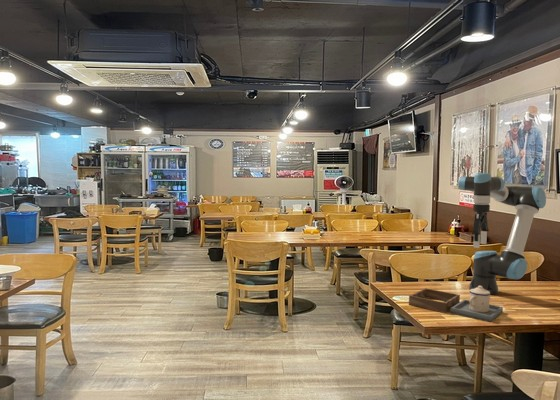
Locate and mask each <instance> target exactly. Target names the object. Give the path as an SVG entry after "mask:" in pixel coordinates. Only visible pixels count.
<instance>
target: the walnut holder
mask: <svg viewBox="0 0 560 400" xmlns="http://www.w3.org/2000/svg"><path fill="white" fill-rule="evenodd" d="M460 297H461V295H460V294H458V293H451V292H446V291H442V290H441V291H440V290H436V289H432V288H431V289H430V288H427V287H425V288H423V289H420V290H418V291H416V292H414V293H412V294H410V295H409V296H408V305H409V306H413V307H417V308H422V309H427V310H430V311H436V312H440V313H444V314H445V313H447V312H449V311H451V307H453V306H455V305H456V304H458V303H459V302H461V301H460V300H461V298H460ZM442 301H443V302H442Z"/></svg>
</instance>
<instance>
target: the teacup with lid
mask: <svg viewBox="0 0 560 400" xmlns="http://www.w3.org/2000/svg"><path fill="white" fill-rule="evenodd" d="M490 298H491V294H490V292H489V291H487V290H485V289H484V288H483V287H482V286H478V288H475V289H471V290H469V299H468V300H469V302H470V304H469V308H470V309H471V310H472V311H476V312H483V313H484V312H488V311H489V304H490V301H491V300H490Z"/></svg>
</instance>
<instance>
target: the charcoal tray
mask: <svg viewBox="0 0 560 400" xmlns="http://www.w3.org/2000/svg"><path fill="white" fill-rule="evenodd" d="M469 300H470V299H462V300H461V301H460V302H459V303H458V304H456V305H455V306H453V307H451V309H450V314H454V315H457V316H462V317H466V318H471V319H475V320H479V321H485V322H490V323H493V322H494V321H495V320H496V319H497V318H498V317H499V316H501V314H502V313H503V311H504V309H503V308H504V307H503V306H499V305H495V304H490V303H489V311H488V312H484V313H483V312H476V311H472V310H471V309H470V308H469V304H470V302H469Z"/></svg>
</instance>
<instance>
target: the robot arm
mask: <svg viewBox="0 0 560 400" xmlns="http://www.w3.org/2000/svg"><path fill="white" fill-rule="evenodd" d="M457 188H458V189H459V190H460V191H470V192H472V193H473V196H472V199H473V205H472V206H473V207H472V211H473V212H474V213H475V214H474V220H473V221H474V222H473V227H472V232H471V234H472V235H473V242H472V243H473V247H472V248H476V249H480V244H481V245H487V237H488V235H487V234H488V232H489V231H490V230H489V226H488V225H489V224H488V213H489V212H490V209H491V208H490V207H491V206H490V204H491V198H492V199H493V200H494V201H496V202H498V203H501V204H504V205H507V206H512V207H514V208H515V209H516V213H515V218H514V221H513V223H512V227H511V229H510V234H509V237H508V238H507V243H506V245H505V246H506V247H505V248H504V249H502V250H501V252H500V254H498V252H497V251H496V250H479V251H475V252H474V256H473V271H472V274H473V275H472V278H471V280H470V283H469V286H468V287H469V288H468V290H469V291H470V290H471V289H475V288H478V286H482V287H483V288H484V289H485V290H487V291H489V292H490V295H497V294H499V286H498V283H497V279H496V276H498V277H503V278H506V279H509V280H520V279H521V278H523V277H524V275H525V274H526V273H527V270H528V262H527V260H526V257H525V255H524V251H525V247H526V244H527V241H528V237H529V233H530V230H531V226H532V223H533V221H534V216H535V215H536V214H538V213H539V210H540V209H544V208H545V206H546V204H547V195H546V192H545V190H544V189H543V188H542V187H539V186H515V185H514V186H513V185H508V186H507V185H506V184H505V180H504V179H503V177H500V176H492V175H491V173H489V172H481V173H480V172H477V173H475V174H474V176H469V175H465V176H461V177H459V179H458V181H457Z"/></svg>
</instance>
